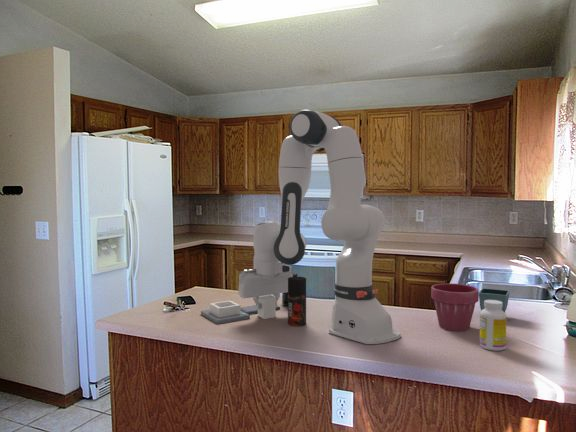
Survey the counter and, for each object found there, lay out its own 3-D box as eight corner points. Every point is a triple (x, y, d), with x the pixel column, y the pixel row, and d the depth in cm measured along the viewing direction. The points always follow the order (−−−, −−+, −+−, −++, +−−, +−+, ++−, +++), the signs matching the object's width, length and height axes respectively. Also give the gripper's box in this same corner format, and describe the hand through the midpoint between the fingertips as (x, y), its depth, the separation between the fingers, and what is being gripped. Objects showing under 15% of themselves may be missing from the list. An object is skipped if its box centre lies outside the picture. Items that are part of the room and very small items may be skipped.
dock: (249, 318, 155) (249, 306, 155) (217, 324, 149) (217, 311, 148) (231, 309, 167) (231, 298, 167) (200, 314, 160) (200, 302, 160)
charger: (275, 317, 157) (275, 297, 157) (264, 319, 155) (264, 298, 154) (268, 314, 161) (268, 294, 160) (257, 315, 158) (257, 296, 158)
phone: (270, 305, 173) (270, 302, 173) (280, 309, 167) (280, 306, 167) (237, 310, 165) (237, 307, 165) (246, 314, 160) (246, 312, 159)
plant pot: (421, 323, 150) (422, 284, 149) (456, 319, 154) (457, 281, 154) (450, 336, 136) (451, 293, 135) (488, 331, 141) (489, 290, 140)
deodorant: (309, 322, 150) (309, 277, 149) (300, 327, 145) (300, 280, 144) (293, 320, 153) (293, 276, 152) (284, 324, 148) (284, 279, 147)
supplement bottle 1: (298, 307, 170) (298, 275, 169) (280, 306, 171) (280, 274, 170) (301, 303, 176) (301, 272, 176) (284, 302, 178) (284, 271, 177)
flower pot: (481, 312, 163) (482, 287, 162) (509, 316, 158) (509, 290, 158) (477, 318, 155) (478, 292, 154) (506, 322, 150) (507, 295, 150)
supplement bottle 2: (509, 347, 127) (510, 301, 126) (501, 353, 122) (502, 305, 121) (484, 341, 131) (485, 297, 130) (475, 347, 126) (476, 301, 125)
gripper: (243, 272, 148) (243, 314, 149) (295, 266, 159) (295, 305, 160) (234, 269, 154) (235, 309, 155) (286, 264, 165) (286, 301, 166)
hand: (266, 307), depth 157 cm, fingers closed on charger, 4 cm apart
